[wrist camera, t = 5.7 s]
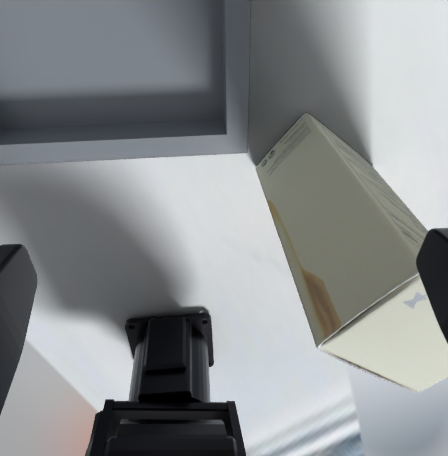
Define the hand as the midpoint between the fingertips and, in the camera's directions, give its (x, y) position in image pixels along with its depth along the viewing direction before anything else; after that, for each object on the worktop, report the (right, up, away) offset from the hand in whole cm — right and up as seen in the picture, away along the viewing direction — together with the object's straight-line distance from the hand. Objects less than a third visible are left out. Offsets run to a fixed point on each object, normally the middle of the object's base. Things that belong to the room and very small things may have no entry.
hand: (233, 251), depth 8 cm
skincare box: (+5, +4, +14) cm, 16 cm away
